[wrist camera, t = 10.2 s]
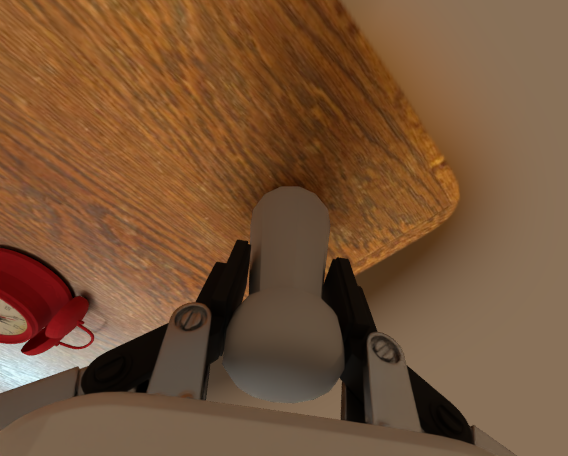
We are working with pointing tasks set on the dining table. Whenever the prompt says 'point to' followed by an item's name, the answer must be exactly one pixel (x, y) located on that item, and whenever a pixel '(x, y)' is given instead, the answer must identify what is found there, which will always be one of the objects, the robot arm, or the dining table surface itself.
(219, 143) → the dining table surface
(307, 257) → the salt shaker
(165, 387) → the robot arm
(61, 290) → the alarm clock
